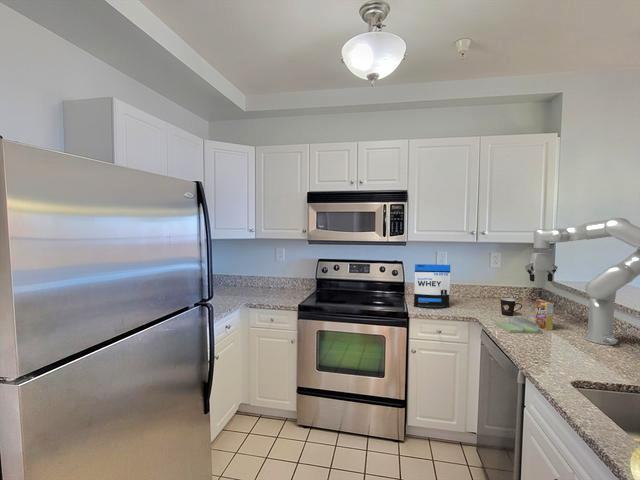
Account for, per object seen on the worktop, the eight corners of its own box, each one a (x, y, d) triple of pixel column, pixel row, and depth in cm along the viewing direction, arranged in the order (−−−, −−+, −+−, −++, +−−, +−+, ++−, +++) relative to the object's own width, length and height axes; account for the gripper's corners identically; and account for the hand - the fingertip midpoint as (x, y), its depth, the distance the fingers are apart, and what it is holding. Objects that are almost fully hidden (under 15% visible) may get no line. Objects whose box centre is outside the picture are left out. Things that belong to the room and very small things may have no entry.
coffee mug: (496, 313, 216) (497, 298, 215) (505, 312, 219) (506, 297, 219) (513, 318, 205) (513, 302, 205) (522, 317, 209) (523, 301, 208)
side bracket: (537, 330, 177) (538, 324, 177) (522, 330, 177) (522, 324, 177) (523, 323, 190) (523, 317, 190) (508, 323, 190) (509, 317, 190)
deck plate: (541, 333, 177) (541, 330, 177) (509, 333, 177) (510, 330, 177) (523, 324, 193) (523, 321, 193) (494, 323, 193) (494, 321, 193)
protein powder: (412, 305, 236) (413, 263, 234) (446, 306, 235) (448, 263, 233) (415, 308, 226) (416, 265, 225) (451, 309, 225) (453, 265, 224)
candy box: (534, 325, 192) (535, 299, 191) (541, 325, 192) (542, 299, 191) (545, 330, 183) (546, 303, 182) (552, 330, 183) (554, 303, 182)
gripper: (552, 250, 190) (552, 280, 191) (521, 250, 191) (521, 280, 192) (561, 251, 183) (561, 282, 183) (529, 251, 184) (529, 282, 184)
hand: (541, 281), depth 187 cm, fingers open, 9 cm apart
